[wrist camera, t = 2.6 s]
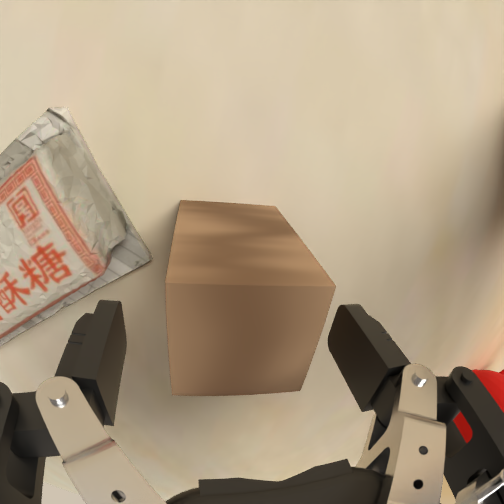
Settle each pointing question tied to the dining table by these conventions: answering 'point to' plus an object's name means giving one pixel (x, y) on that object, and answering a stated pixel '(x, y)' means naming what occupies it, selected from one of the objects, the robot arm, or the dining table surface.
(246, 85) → the dining table surface
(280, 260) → the walnut block
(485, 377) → the ceramic cup
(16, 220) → the packaged product
